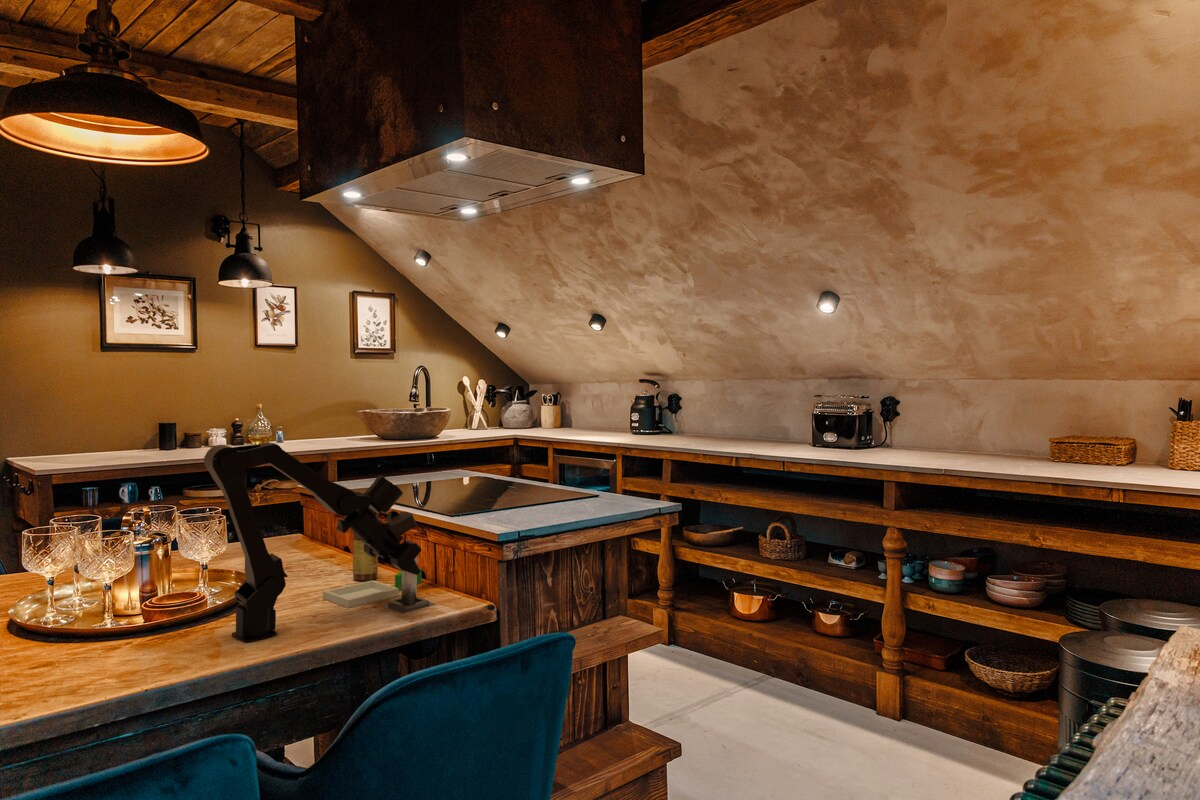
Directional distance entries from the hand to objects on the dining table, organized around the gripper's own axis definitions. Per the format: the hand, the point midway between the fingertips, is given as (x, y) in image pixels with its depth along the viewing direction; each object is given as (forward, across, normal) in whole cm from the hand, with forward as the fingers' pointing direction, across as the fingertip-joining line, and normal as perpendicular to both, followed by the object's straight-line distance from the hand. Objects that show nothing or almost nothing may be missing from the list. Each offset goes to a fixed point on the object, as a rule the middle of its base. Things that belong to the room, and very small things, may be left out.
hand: (414, 571), depth 173 cm
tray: (0, +12, +11) cm, 16 cm away
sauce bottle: (+6, +29, +5) cm, 30 cm away
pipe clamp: (+10, +15, +1) cm, 18 cm away
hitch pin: (+4, 0, +6) cm, 8 cm away
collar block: (+5, 0, +7) cm, 8 cm away
